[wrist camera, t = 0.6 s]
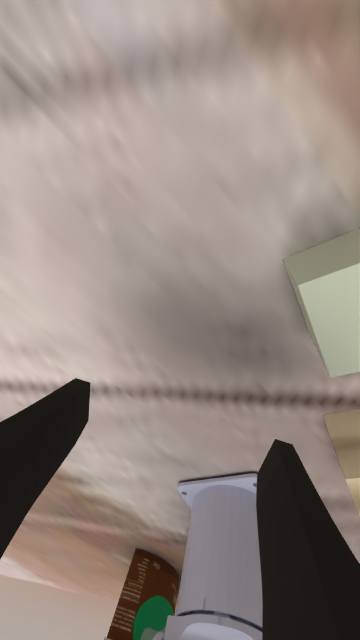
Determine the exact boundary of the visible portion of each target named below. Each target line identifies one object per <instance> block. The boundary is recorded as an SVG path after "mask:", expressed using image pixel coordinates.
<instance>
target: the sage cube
mask: <svg viewBox="0 0 360 640" xmlns="http://www.w3.org/2000/svg"><path fill="white" fill-rule="evenodd" d="M283 261H284V263H285V266H286V269H287V272H288V275H289V277H290V280H291V283H292V286H293V289H294V291H295V294H296V297H297V300H298V303H299V305H300V308H301V311H302V314H303V317H304V319H305V322H306V325H307V328H308V330H309V333H310V335H311V337H312V339H313V341H314V344H315V346H316V348H317V350H318V352H319V355H320V357H321V359H322V361H323V363H324V365H325V368H326V370H327V372H328V374H329V376H330V378H334V377H338V376H343V375H347V374H351V373H355V372H360V228H359V229H356V230H354V231H351V232H349V233H346V234H344V235H341V236H339V237H336V238H334V239H331V240H329V241H326V242H324V243H321V244H319V245H317V246H314V247H312V248H309V249H307V250H304V251H302V252H299V253H297V254H294V255H292V256H289V257H287V258H284V259H283Z"/></svg>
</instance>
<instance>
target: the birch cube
mask: <svg viewBox="0 0 360 640" xmlns="http://www.w3.org/2000/svg"><path fill="white" fill-rule="evenodd" d="M323 417H324V420H325V423H326V426H327V429H328V432H329V434H330V437H331V440H332V443H333V446H334V449H335V451H336V454H337V457H338V460H339V463H340V466H341V469H342V471H343V474H344V477H345V480H346V482H347V485H348V488H349V490H350V493H351V495H352V498H353V501H354V503H355V506H356V508H357V511H358V514H359V516H360V409H355V410H350V411H345V412H340V413H334V414H329V415H324V416H323Z"/></svg>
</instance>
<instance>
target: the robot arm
mask: <svg viewBox="0 0 360 640" xmlns="http://www.w3.org/2000/svg"><path fill="white" fill-rule="evenodd" d="M89 398H90V382H86V381H83V380H80V379H74V380H72V381H70V382H69V383H67V384H65V385H64V386H62V387H60V388H59V389H57V390H56V391H54V392H52V393H51V394H49V395H47V396H46V397H44V398H42V399H41V400H39V401H37V402H36V403H34V404H32V405H30V406H29V407H27V408H25V409H24V410H22V411H20V412H18V413H17V414H15V415H13V416H11V417H9V418H7V419H5V420H4V421H2V422H0V559H1V557H2V555H3V553H4V552H5V550H6V548H7V546H8V545H9V543H10V541H11V540H12V538H13V536H14V535H15V533H16V531H17V529H18V528H19V526H20V524H21V523H22V521H23V519H24V518H25V516H26V514H27V513H28V511H29V510H30V508H31V507H32V505H33V504H34V502H35V501H36V499H37V498H38V496H39V495H40V494H41V492H42V491H43V489H44V488H45V487H46V485H47V484H48V482H49V481H50V480H51V478H52V477H53V475H54V474H55V472H56V471H57V470H58V468H59V467H60V465H61V464H62V463H63V461H64V460H65V458H66V457H67V455H68V454H69V453H70V451H71V450H72V448H73V447H74V445H75V444H76V442H77V440H78V438H79V437H80V435H81V433H82V431H83V429H84V427H85V425H86V424H87V422H88V417H89ZM177 490H178V491H179V493H180V494H181V496H182V497H183V499H184V500H185V502H186V503H187V505H188V506H189V508H190V509H191V511H192V513H191V519H190V526H189V532H188V538H187V545H186V551H185V557H184V563H183V570H182V576H181V582H180V589H179V595H178V601H177V608H176V614H175V616H171V615H168V618H167V623H166V629H165V633H163V632H159V633H157V634H156V635H155V636H154V638H153V639H152V640H360V564H359V562H358V561H357V559H356V558H355V556H354V555H353V553H352V551H351V550H350V548H349V546H348V545H347V543H346V542H345V540H344V538H343V537H342V535H341V533H340V532H339V530H338V528H337V527H336V525H335V523H334V521H333V520H332V518H331V516H330V514H329V513H328V511H327V509H326V507H325V505H324V504H323V502H322V500H321V498H320V496H319V495H318V493H317V491H316V489H315V487H314V485H313V483H312V481H311V479H310V478H309V476H308V474H307V472H306V470H305V468H304V466H303V464H302V462H301V460H300V458H299V456H298V454H297V452H296V450H295V449H294V447H293V445H292V444H290V443H286V442H283V441H280V440H276V439H275V441H274V443H273V445H272V446H271V448H270V450H269V452H268V454H267V456H266V458H265V460H264V462H263V464H262V466H261V468H260V470H259V472H258V474H255V473H251V474H244V475H236V476H228V477H221V478H213V479H205V480H198V481H190V482H182V483H179V484H178V486H177Z"/></svg>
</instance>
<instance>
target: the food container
mask: <svg viewBox="0 0 360 640" xmlns="http://www.w3.org/2000/svg"><path fill="white" fill-rule="evenodd" d="M177 588H178V574H177V572H176V570H175V569H174V568H173V567H172V566H171V565H170V564H169V563H168V562H166V561H165V560H163V559H162V558H160V557H158V556H156V555H154V554H152V553H150V552H147V551H144V550H140V549H136V550H135V553H134V556H133V559H132V562H131V565H130V568H129V571H128V574H127V577H126V580H125V583H124V586H123V590H122V593H121V596H120V599H119V602H118V605H117V608H116V611H115V614H114V617H113V620H112V623H111V626H110V629H109V632H108V636H107V638H104V640H152V639H153V638H154V636H155V635H156V634H157V633H159V632H163V633H165V629H166V623H167V618H168V615H171V616H175V607H176V597H177Z"/></svg>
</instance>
